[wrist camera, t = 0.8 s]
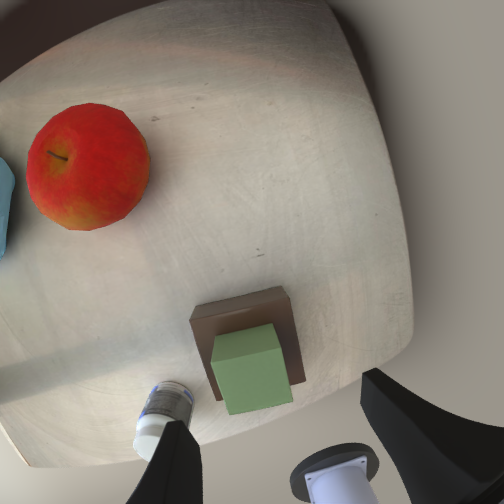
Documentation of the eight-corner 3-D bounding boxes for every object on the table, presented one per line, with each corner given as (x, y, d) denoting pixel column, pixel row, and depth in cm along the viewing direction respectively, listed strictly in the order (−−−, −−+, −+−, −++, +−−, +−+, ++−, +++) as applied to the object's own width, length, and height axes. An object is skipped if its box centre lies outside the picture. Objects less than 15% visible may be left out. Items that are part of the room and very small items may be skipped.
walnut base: (297, 361, 27) (306, 381, 23) (218, 379, 26) (216, 401, 22) (281, 285, 26) (289, 297, 22) (195, 305, 25) (188, 320, 22)
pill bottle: (147, 379, 26) (122, 428, 18) (191, 381, 26) (178, 434, 18) (155, 414, 27) (136, 464, 18) (197, 416, 27) (187, 470, 18)
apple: (68, 204, 24) (-16, 199, 12) (106, 121, 23) (38, 71, 11) (143, 244, 25) (74, 263, 13) (185, 153, 24) (146, 100, 12)
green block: (283, 371, 22) (293, 401, 18) (230, 383, 22) (229, 415, 18) (272, 322, 22) (281, 347, 17) (215, 335, 22) (210, 362, 17)
